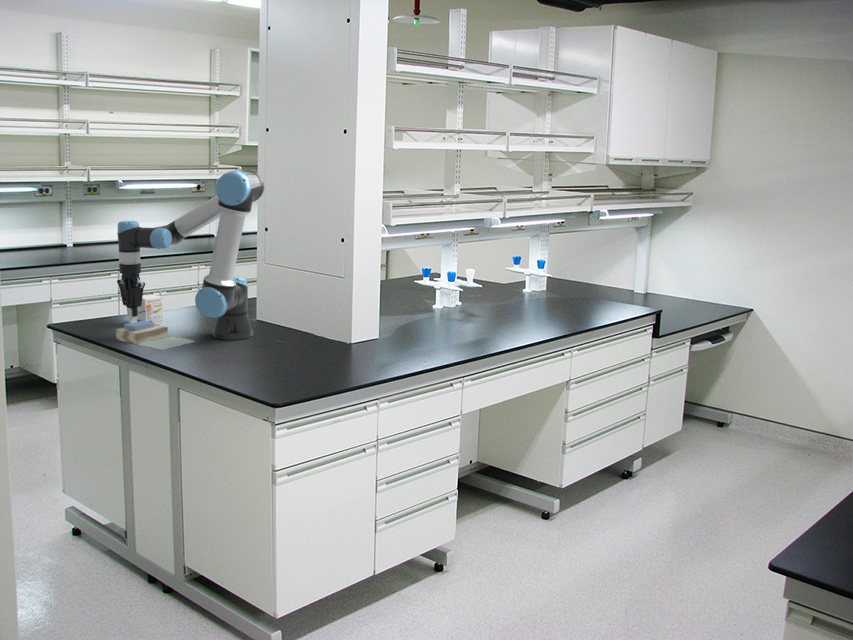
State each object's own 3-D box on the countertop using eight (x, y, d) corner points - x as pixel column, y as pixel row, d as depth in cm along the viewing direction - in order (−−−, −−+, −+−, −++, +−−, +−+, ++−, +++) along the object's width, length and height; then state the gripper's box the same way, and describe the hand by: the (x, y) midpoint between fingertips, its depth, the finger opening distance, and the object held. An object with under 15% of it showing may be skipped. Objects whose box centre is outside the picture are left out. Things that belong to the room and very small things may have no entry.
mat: (194, 341, 302) (194, 341, 302) (161, 350, 289) (161, 349, 289) (171, 337, 308) (171, 336, 308) (138, 345, 294) (138, 344, 294)
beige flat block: (168, 337, 308) (167, 327, 307) (138, 344, 296) (137, 333, 295) (146, 332, 314) (145, 322, 313) (116, 339, 302) (115, 329, 301)
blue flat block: (154, 326, 307) (154, 322, 306) (135, 330, 299) (135, 326, 299) (143, 324, 310) (143, 320, 309) (124, 328, 302) (124, 324, 302)
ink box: (145, 327, 322) (144, 298, 320) (133, 324, 327) (132, 296, 325) (164, 324, 329) (163, 296, 327) (151, 321, 334) (150, 293, 332)
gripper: (150, 263, 301) (152, 325, 306) (126, 260, 308) (129, 320, 313) (133, 265, 295) (136, 328, 300) (109, 262, 301) (113, 324, 306)
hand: (133, 324), depth 306 cm, fingers closed
